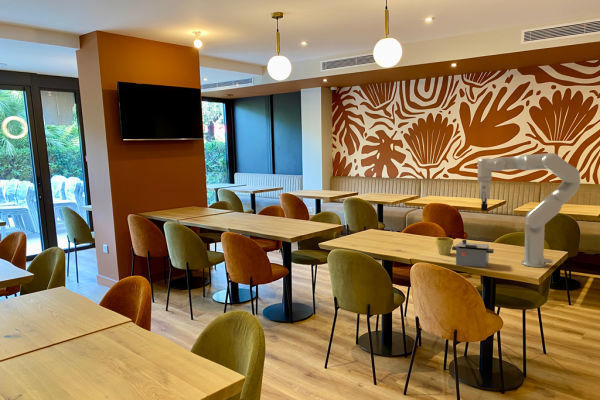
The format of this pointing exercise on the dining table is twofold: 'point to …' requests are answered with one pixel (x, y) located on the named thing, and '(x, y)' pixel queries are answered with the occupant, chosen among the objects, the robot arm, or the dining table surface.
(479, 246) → the lid
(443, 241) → the plant pot
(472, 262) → the cooker
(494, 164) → the robot arm
